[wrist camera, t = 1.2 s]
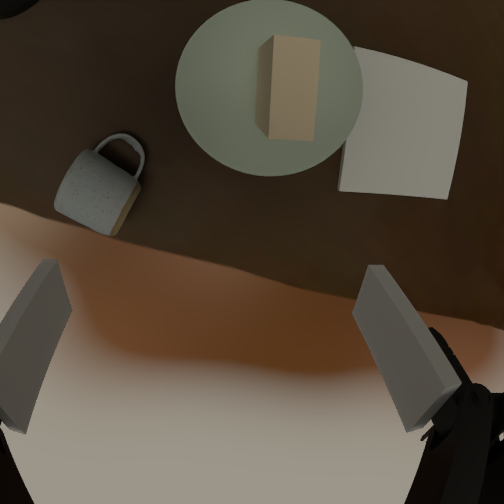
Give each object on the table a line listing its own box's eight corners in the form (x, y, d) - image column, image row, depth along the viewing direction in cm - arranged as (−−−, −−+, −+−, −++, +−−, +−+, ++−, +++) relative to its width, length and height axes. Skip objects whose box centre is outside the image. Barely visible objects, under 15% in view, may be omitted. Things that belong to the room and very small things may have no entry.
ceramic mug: (124, 223, 37) (107, 254, 31) (71, 193, 34) (44, 218, 28) (164, 151, 34) (151, 168, 27) (106, 118, 31) (80, 128, 24)
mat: (351, 46, 29) (354, 46, 28) (464, 81, 31) (467, 81, 30) (337, 188, 38) (339, 191, 37) (444, 197, 40) (447, 199, 39)
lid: (180, 0, 20) (164, -32, 12) (362, 17, 22) (414, 2, 14) (178, 173, 29) (163, 210, 21) (347, 176, 31) (389, 212, 23)
